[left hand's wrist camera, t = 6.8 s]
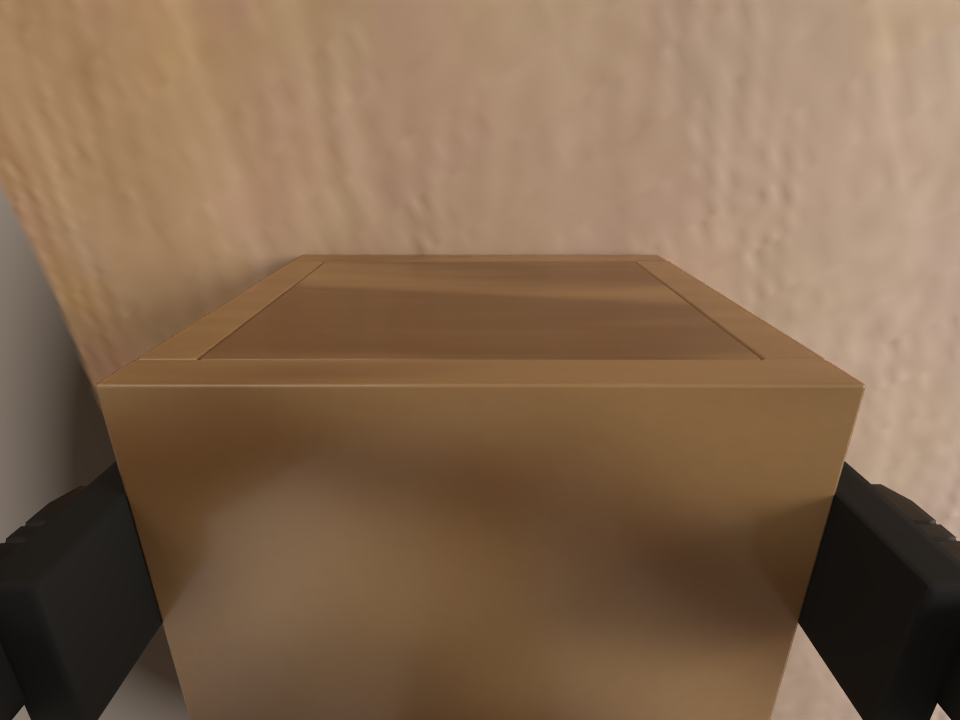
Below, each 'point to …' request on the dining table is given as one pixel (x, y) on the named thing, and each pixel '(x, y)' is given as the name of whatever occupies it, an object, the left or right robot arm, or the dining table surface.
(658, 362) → the cabinet
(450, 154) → the dining table surface
